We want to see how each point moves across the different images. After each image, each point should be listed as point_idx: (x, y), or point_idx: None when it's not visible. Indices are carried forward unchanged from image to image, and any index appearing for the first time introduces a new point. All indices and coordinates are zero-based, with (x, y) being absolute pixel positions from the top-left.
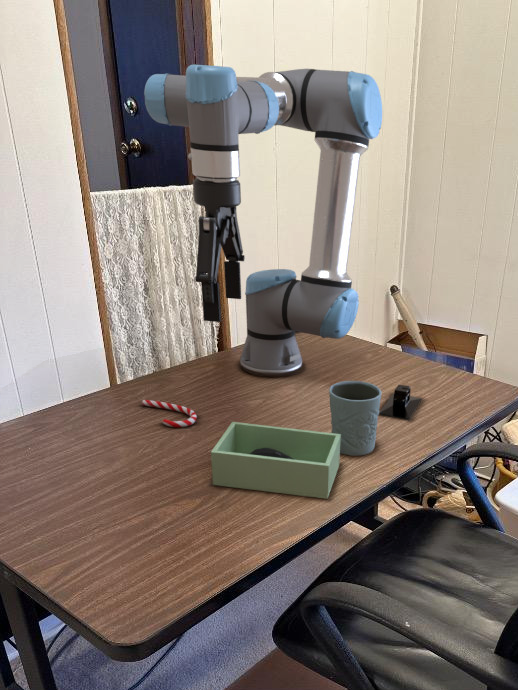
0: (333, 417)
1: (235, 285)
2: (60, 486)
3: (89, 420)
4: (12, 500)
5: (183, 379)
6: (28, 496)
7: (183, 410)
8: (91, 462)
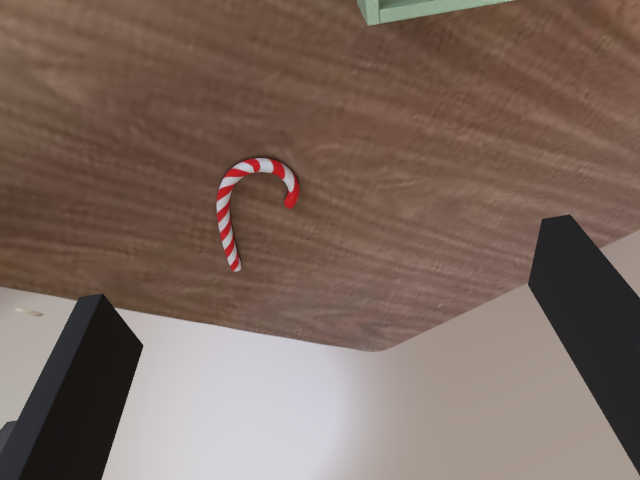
0: None
1: (86, 382)
2: None
3: (329, 295)
4: None
5: (91, 265)
6: None
7: (229, 198)
8: (465, 225)
